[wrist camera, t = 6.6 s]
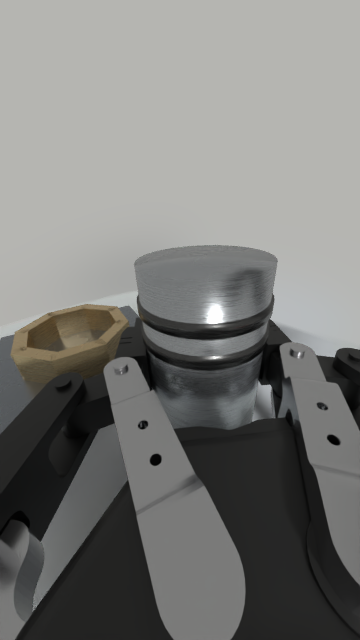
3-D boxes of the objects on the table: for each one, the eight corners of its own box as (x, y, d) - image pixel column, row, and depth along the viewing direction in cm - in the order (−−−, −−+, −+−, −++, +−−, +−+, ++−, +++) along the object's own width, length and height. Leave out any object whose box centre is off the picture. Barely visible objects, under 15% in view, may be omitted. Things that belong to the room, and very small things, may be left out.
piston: (211, 396, 16) (216, 241, 11) (268, 458, 12) (316, 259, 7) (146, 430, 14) (114, 256, 9) (188, 518, 10) (174, 295, 5)
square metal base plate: (129, 312, 30) (125, 287, 28) (182, 373, 19) (180, 338, 17) (4, 345, 24) (-10, 317, 22) (-25, 461, 13) (-58, 422, 11)
